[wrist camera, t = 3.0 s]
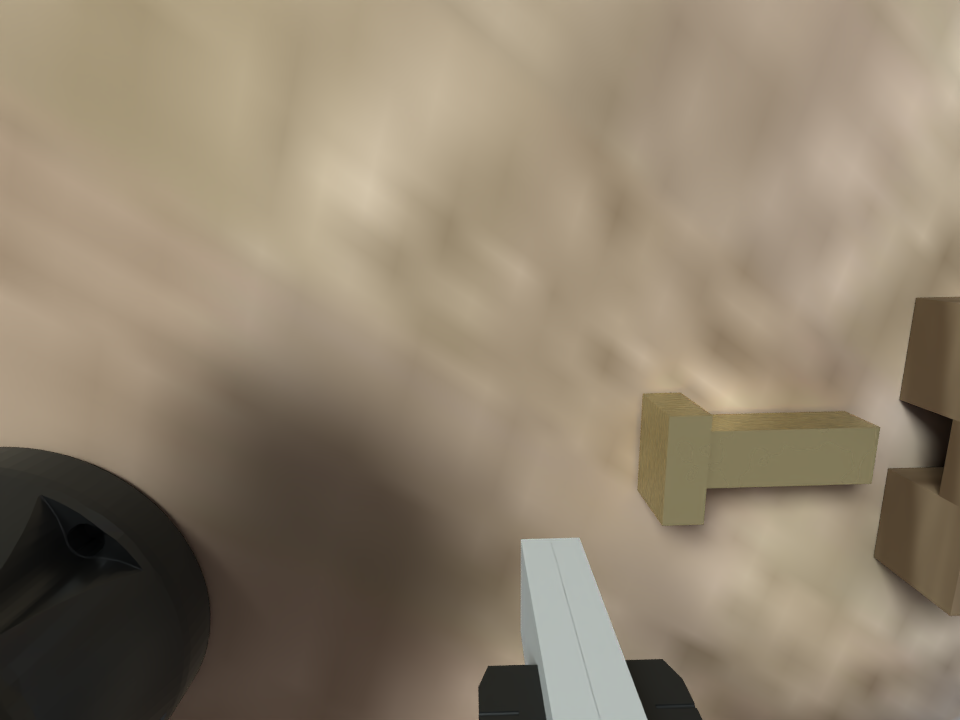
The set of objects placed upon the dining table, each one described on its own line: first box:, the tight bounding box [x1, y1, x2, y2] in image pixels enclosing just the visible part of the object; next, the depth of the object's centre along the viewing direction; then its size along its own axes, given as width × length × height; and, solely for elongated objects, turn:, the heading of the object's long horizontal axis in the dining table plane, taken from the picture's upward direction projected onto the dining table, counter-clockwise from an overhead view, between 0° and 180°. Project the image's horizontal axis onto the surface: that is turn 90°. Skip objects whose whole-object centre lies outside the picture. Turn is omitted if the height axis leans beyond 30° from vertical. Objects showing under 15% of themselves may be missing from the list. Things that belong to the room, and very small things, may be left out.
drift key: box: [638, 393, 880, 526], centre depth 22 cm, size 9×4×3 cm, turn 91°
